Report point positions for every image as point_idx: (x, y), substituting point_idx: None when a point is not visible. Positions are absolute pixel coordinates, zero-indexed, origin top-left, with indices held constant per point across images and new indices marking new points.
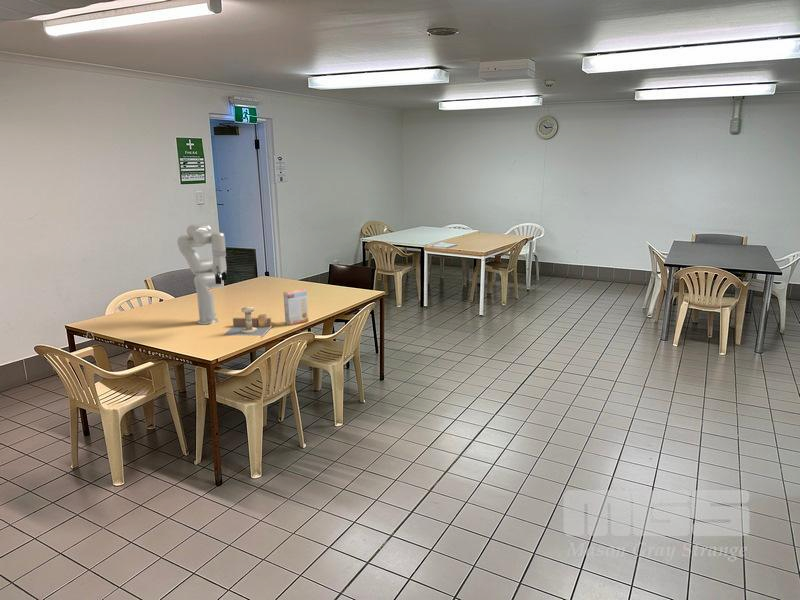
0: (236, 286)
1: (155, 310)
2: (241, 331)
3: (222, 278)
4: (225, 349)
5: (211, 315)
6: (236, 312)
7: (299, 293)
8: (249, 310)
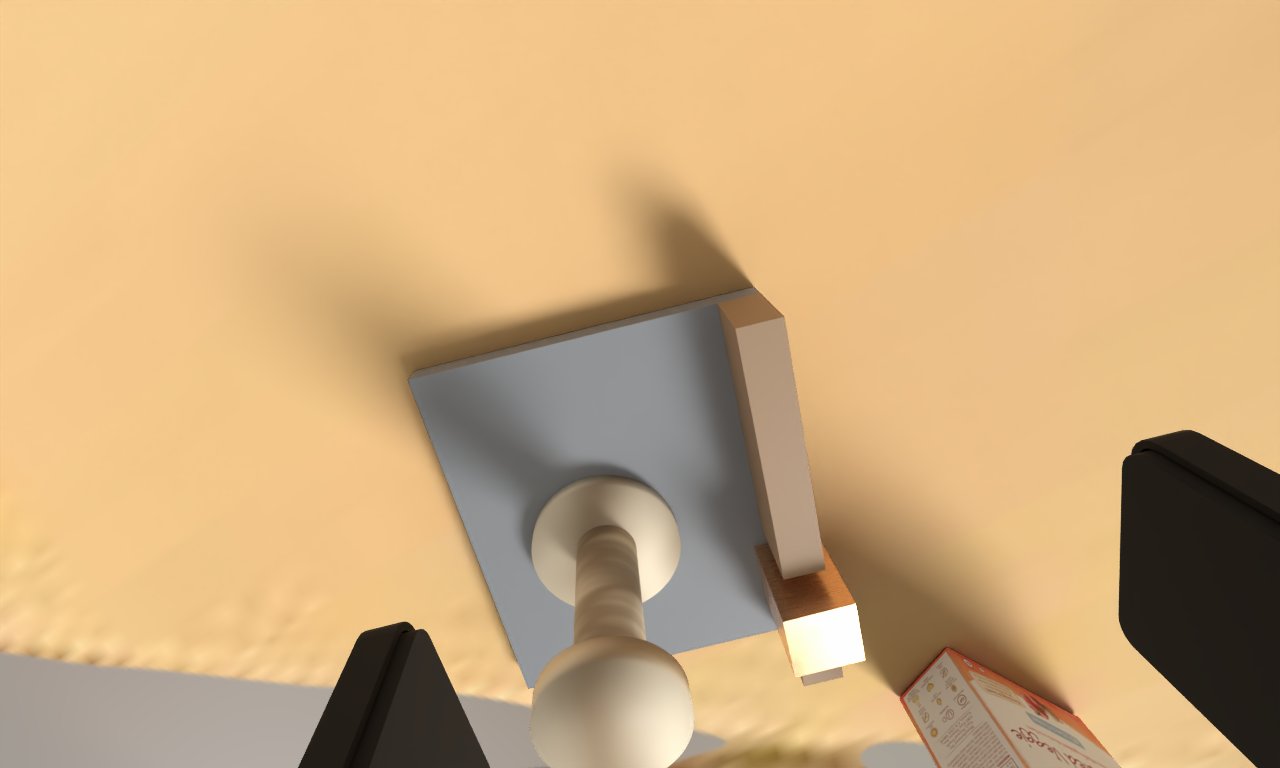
0: None
1: None
2: (576, 479)
3: (1194, 540)
4: (144, 579)
5: None
6: None
7: None
8: (560, 765)
